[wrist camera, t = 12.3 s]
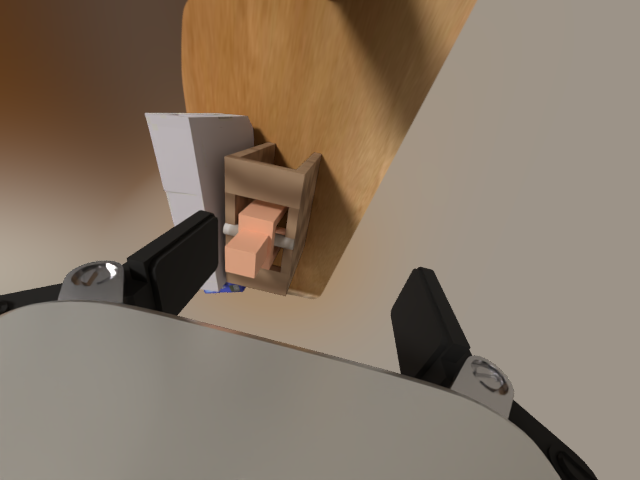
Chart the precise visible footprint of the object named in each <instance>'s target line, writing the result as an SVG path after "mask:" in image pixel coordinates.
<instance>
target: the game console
mask: <svg viewBox="0 0 640 480" xmlns="http://www.w3.org/2000/svg"><path fill="white" fill-rule="evenodd" d="M145 116H146V119H147V123H148V126H149V130H150V135H151V138H152V143H153V147H154V151H155V155H156V159H157V163H158V167H159V171H160V175H161V179H162V184H163V188H164V190H165V191H166V195H167V199H168V203H169V207H170V211H171V215H172V219H173V223H174V227H175V226H176V225H178V224H179V223H181V222H182V221H184V220H185V219H187V218H188V217H190V216H191V215H193V214H194V213H196V212H197V211H199V210H203V211H207V212H211V213H214V215H215V217H217V218H218V261H219V263H218V267H217V269H216V271H215V272H214V273H213V274H212V275H211V277H210V278H209V279H208V280H207V281H206V282H205V284H204V285H203V286H202V287H201V288H200V289H203V290H210V291H216V292H219V291H220V289H221V288H222V287H223V285H224V284H225V283H226V272H225V246H226V234H224V233H223V228H224V225H225V160H224V156H227V155H230V154H233V153H236V152H239V151H243V150H246V149H249V148H252V147H254V134H253V127H252V125H251V123H250V120H249V118H248V116H241V115H231V114H220V113H145Z"/></svg>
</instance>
